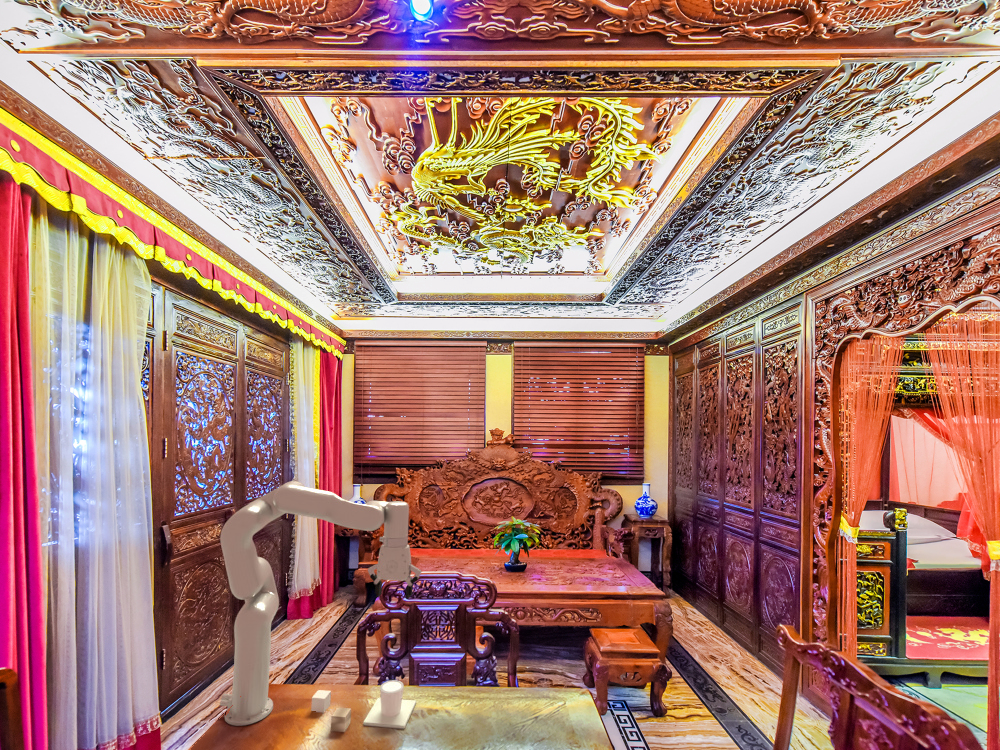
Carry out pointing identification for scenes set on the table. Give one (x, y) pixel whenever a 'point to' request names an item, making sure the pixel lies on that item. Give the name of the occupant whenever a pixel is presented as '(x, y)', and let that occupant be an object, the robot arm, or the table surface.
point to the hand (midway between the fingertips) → (393, 596)
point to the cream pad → (394, 722)
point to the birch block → (340, 719)
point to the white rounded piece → (391, 697)
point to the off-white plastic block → (321, 701)
